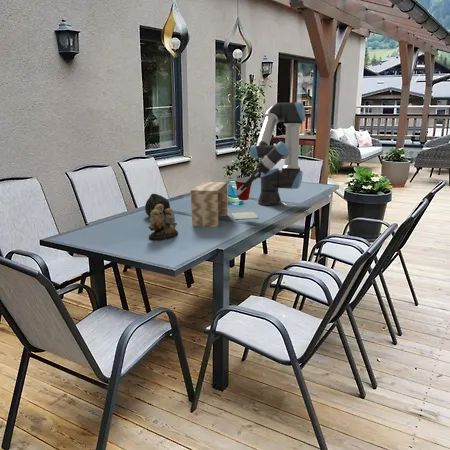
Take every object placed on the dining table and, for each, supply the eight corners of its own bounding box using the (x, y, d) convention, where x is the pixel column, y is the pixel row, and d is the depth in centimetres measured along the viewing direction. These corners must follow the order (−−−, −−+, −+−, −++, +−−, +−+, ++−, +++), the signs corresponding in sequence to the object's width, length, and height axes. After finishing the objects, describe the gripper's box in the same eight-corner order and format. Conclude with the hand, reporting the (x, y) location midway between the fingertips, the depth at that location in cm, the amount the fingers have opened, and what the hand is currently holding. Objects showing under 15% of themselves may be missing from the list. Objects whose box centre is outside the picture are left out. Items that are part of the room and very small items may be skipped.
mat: (253, 212, 272) (253, 211, 272) (258, 218, 259) (258, 217, 259) (231, 213, 270) (231, 213, 270) (234, 219, 257) (234, 218, 257)
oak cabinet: (227, 215, 267) (227, 182, 262) (217, 226, 243) (216, 190, 238) (204, 214, 271) (203, 181, 265) (192, 225, 246) (190, 190, 241)
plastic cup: (250, 202, 253) (250, 181, 249) (232, 200, 256) (232, 180, 252) (255, 197, 262) (255, 177, 259) (237, 196, 266) (237, 176, 262)
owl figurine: (159, 243, 218) (156, 209, 213) (142, 239, 225) (139, 206, 220) (183, 233, 232) (181, 201, 227) (167, 230, 239) (164, 199, 234)
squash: (177, 205, 271) (161, 186, 270) (168, 212, 257) (150, 192, 256) (162, 219, 277) (146, 201, 276) (152, 226, 263) (135, 207, 262)
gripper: (263, 157, 261) (237, 183, 269) (258, 163, 240) (230, 191, 248) (272, 166, 261) (246, 192, 269) (268, 173, 241) (240, 200, 248)
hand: (238, 191), depth 259 cm, fingers closed on plastic cup, 10 cm apart
